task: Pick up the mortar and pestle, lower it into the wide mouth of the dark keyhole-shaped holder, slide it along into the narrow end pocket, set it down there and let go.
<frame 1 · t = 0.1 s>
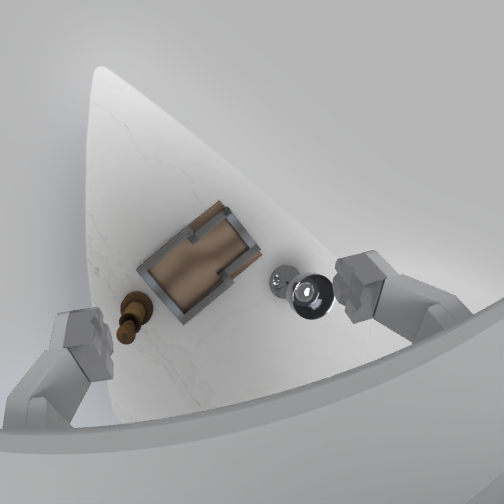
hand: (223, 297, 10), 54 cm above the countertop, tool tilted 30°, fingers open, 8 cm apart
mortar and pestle: (137, 307, 62), on the countertop
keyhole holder: (200, 261, 64), on the countertop
wine glass: (285, 281, 69), on the countertop
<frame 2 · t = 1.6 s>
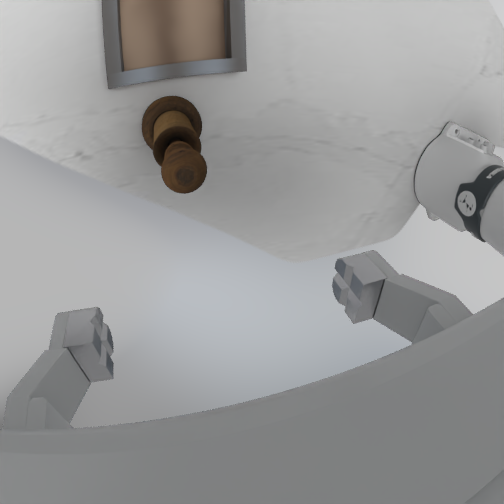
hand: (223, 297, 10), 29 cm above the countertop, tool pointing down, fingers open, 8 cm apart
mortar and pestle: (170, 123, 34), on the countertop
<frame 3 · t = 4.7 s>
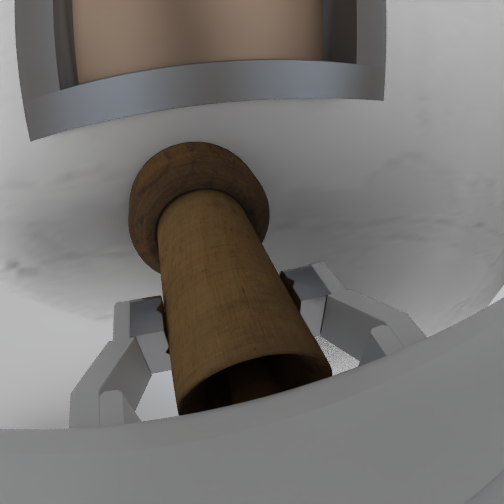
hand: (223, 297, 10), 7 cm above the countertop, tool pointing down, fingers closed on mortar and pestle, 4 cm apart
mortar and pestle: (193, 202, 16), on the countertop, touching gripper
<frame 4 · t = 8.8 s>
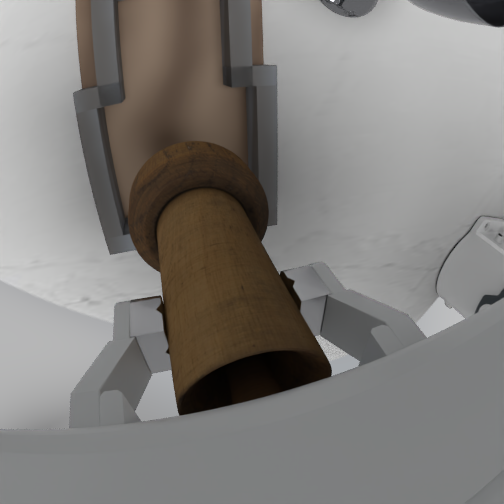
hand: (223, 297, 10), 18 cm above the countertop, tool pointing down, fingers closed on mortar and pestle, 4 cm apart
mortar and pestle: (193, 201, 16), point 11 cm above the countertop, touching gripper
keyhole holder: (175, 101, 23), on the countertop
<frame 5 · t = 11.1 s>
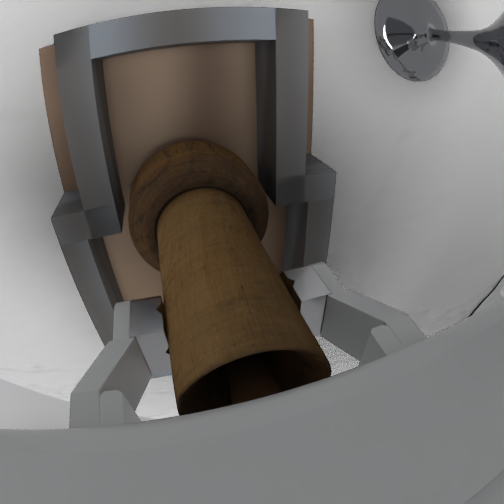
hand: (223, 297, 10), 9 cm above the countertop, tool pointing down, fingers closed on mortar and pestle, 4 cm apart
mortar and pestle: (193, 200, 16), point 2 cm above the countertop, touching gripper
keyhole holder: (192, 205, 18), on the countertop
wine glass: (414, 32, 15), on the countertop
when the fingers open (8 cm above the countertop, at t = 13.1 s): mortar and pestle stays where it is, resting on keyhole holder.
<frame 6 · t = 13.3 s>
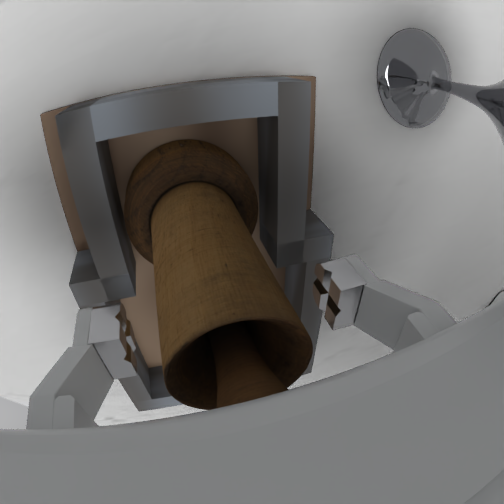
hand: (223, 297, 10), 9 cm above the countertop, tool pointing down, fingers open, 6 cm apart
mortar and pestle: (186, 197, 17), resting on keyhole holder
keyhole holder: (199, 259, 20), on the countertop
wine glass: (416, 78, 17), on the countertop
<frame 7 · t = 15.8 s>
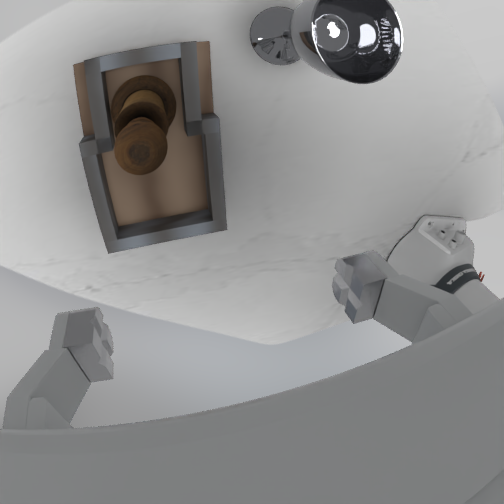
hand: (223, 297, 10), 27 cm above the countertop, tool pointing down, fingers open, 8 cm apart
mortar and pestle: (143, 105, 29), resting on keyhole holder
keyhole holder: (150, 143, 32), on the countertop
wine glass: (280, 35, 29), on the countertop
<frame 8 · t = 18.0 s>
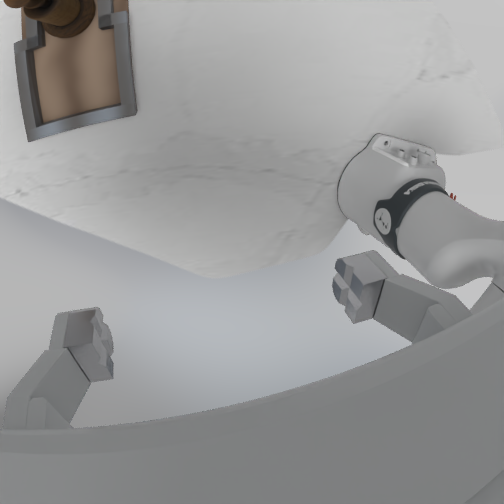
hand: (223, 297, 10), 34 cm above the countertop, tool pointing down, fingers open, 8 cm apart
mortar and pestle: (70, 14, 25), resting on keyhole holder
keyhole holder: (74, 45, 28), on the countertop
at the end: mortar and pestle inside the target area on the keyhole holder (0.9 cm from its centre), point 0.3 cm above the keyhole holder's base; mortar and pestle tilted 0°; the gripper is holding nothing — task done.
